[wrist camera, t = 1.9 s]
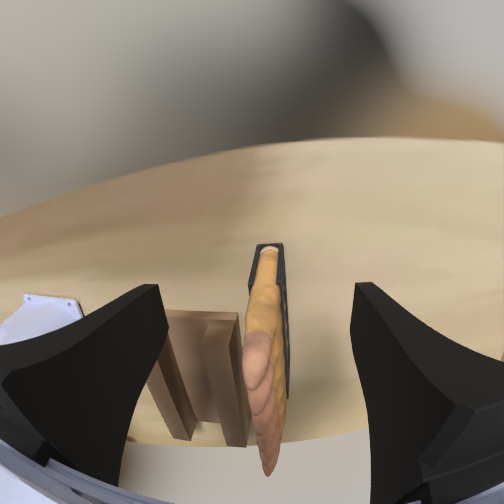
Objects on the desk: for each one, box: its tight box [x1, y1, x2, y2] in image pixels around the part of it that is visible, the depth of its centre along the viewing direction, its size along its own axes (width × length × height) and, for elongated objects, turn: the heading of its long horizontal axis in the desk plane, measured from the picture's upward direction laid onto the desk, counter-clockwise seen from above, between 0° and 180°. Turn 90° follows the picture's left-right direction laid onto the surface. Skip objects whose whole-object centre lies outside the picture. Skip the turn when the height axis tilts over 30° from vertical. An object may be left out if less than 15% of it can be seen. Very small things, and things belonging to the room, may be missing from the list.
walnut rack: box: [146, 310, 251, 448], centre depth 25 cm, size 8×15×4 cm, turn 4°
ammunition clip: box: [242, 243, 290, 476], centre depth 17 cm, size 11×2×12 cm, turn 6°
